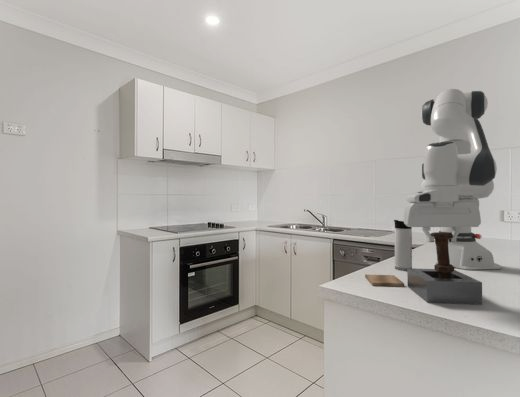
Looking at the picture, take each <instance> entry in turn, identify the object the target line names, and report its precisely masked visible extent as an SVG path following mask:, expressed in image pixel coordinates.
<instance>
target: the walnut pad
mask: <svg viewBox="0 0 520 397" xmlns="http://www.w3.org/2000/svg"><path fill="white" fill-rule="evenodd" d="M364 277H365V279H366V280H367V281H368V282H369V284H370V285H371V286H373V287H374V286H376V287H378V286H379V287H401V286H403V288H404V287H405V282H403V281H402V280H400V279H399V277H397V276H395V275H394V274H392V275H391V274H364Z"/></svg>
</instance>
